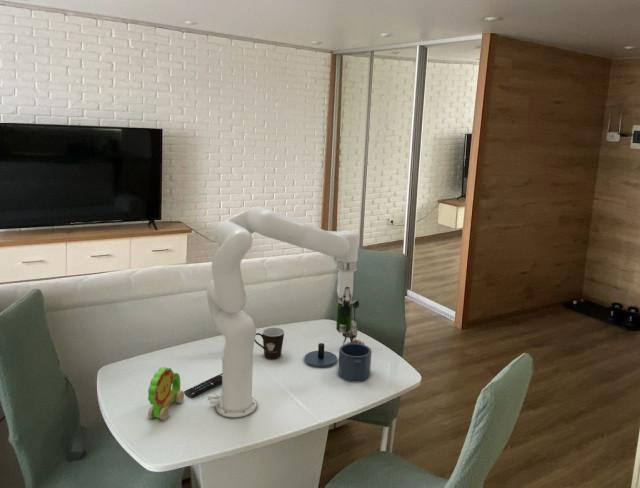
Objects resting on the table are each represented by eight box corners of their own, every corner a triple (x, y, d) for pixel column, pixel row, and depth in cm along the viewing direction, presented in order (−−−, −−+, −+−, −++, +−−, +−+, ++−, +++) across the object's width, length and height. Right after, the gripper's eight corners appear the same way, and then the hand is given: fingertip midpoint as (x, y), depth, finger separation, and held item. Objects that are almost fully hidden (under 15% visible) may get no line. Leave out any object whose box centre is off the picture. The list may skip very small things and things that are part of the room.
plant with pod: (335, 345, 219) (338, 300, 217) (359, 341, 225) (361, 296, 223) (345, 353, 212) (347, 306, 210) (368, 348, 218) (371, 302, 216)
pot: (340, 385, 187) (341, 360, 186) (336, 363, 204) (337, 340, 202) (372, 385, 188) (374, 360, 187) (366, 363, 205) (367, 340, 204)
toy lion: (169, 397, 173) (170, 354, 171) (185, 399, 172) (185, 356, 170) (142, 424, 158) (142, 376, 156) (159, 427, 157) (159, 379, 155)
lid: (304, 368, 198) (305, 351, 197) (304, 353, 211) (304, 337, 210) (338, 368, 200) (339, 351, 199) (335, 353, 212) (336, 337, 212)
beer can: (351, 333, 188) (352, 302, 187) (336, 333, 188) (337, 301, 187) (350, 328, 194) (352, 296, 192) (336, 327, 194) (337, 296, 192)
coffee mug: (287, 355, 208) (288, 331, 207) (273, 363, 201) (274, 338, 200) (265, 347, 215) (266, 324, 213) (251, 354, 207) (251, 330, 206)
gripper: (334, 258, 196) (332, 304, 198) (338, 271, 179) (336, 322, 181) (354, 258, 197) (351, 304, 199) (360, 272, 180) (357, 322, 182)
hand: (344, 312), depth 190 cm, fingers closed on beer can, 5 cm apart
